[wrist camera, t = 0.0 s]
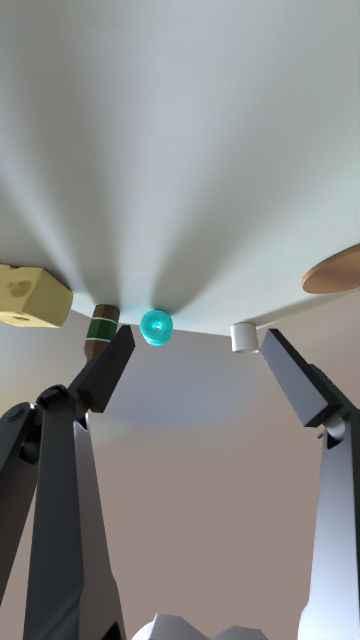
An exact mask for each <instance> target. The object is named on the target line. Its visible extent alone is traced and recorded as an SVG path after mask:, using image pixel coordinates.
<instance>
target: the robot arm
mask: <svg viewBox="0 0 360 640" xmlns="http://www.w3.org/2000/svg"><path fill="white" fill-rule="evenodd" d="M134 348H135V343H134V339H133V335H132V331H131V327H130V325H122V326H121V328H120V329H119V331H118V332H117V333H116V335H115V336H114V337H113V339H112V340H111V342H110V343H109V344H108V346H107V347H106V348H105V350H104V351H103V353H102V354H101V355H100V356H95V357H93V358H92V359H91V360H89V361H88V363H87V364H86V365H85V367H84V368H83V369H82V370H81V372H80V373H79V374H78V376H77V377H76V378H75V379H74V380H73V382H72V383H71V384H70V386H69V387H68V388H67V389H66V388H65V386H63V385H54V386H51V387H50V388H48V389H46V390H45V391H44V392H42V393H41V394H40V395H39V397H38V398H37V400H36V403H37V404H38V405H34V406H33V405H32V404H31V403H29V402H23V403H20V404H18V405H15V406H14V407H12V408H11V409H9V410H8V411H7V412H6V413H5V414H4V415H3V416H2V417H1V418H0V606H1V602H2V599H3V595H4V593H5V589H6V585H7V582H8V579H9V576H10V572H11V569H12V566H13V562H14V559H15V556H16V552H17V549H18V546H19V542H20V539H21V536H22V532H23V529H24V525H25V522H26V518H27V515H28V512H29V509H30V505H31V502H32V499H33V495H34V492H35V488H36V485H37V491H36V502H35V513H34V524H33V536H32V547H31V557H30V567H29V578H28V590H27V601H26V611H25V622H24V633H23V640H126V634H125V628H124V622H123V616H122V610H121V604H120V598H119V593H118V588H117V585H116V581H115V579H114V577H113V575H112V572H111V567H110V562H109V555H108V548H107V542H106V535H105V529H104V522H103V515H102V508H101V502H100V495H99V488H98V482H97V475H96V469H95V462H94V456H93V449H92V442H91V436H90V429H89V422H88V416H87V414H86V413H87V411H88V409H89V408H90V410H91V411H92V412H97V413H103V412H104V410H105V408H106V406H107V404H108V402H109V399H110V397H111V395H112V393H113V391H114V389H115V387H116V385H117V383H118V381H119V379H120V377H121V375H122V373H123V371H124V368H125V366H126V364H127V362H128V360H129V358H130V356H131V354H132V352H133V350H134ZM260 351H261V353H262V355H263V357H264V358H265V360H266V361H267V363H268V365H269V367H270V368H271V370H272V372H273V374H274V376H275V377H276V379H277V381H278V383H279V384H280V386H281V388H282V390H283V391H284V393H285V395H286V397H287V398H288V400H289V402H290V404H291V405H292V407H293V409H294V410H295V412H296V414H297V416H298V417H299V419H300V421H301V423H302V424H303V426H304V427H318V426H319V425H321V424H322V423H323V425H324V426H325V428H326V429H325V430H324V431H323V432H321V433H320V434H319V435H318V437H317V438H319V439H320V438H321V437H323V447H322V459H321V470H320V481H319V493H318V505H317V517H316V528H315V539H314V552H313V563H312V575H311V586H310V596H309V601H308V604H307V605H306V607H305V608H304V610H303V611H302V615H301V618H300V624H299V631H298V640H360V410H359V409H357V408H356V407H355V406H354V405H353V404H352V403H351V402H350V401H349V400H348V398H347V397H346V396H345V395H344V394H343V393H342V392H341V391H340V390H339V389H338V388H337V387H336V386H335V385H334V384H333V383H332V381H331V380H330V379H328V378H327V376H326V375H325V374H324V373H323V372H322V371H321V370H320V369H319V368H317V367H316V366H315V365H313V364H308V363H307V362H306V361H305V360H304V359H303V358H302V356H301V355H300V354H299V353H298V352H297V351H296V350H295V348H294V347H293V346H292V345H291V344H290V343H289V342H288V340H287V339H286V338H285V337H284V336H283V335H282V334H281V332H279V330H278V329H268V331H267V334H266V336H265V338H264V341H263V343H262V346H261V348H260ZM132 640H268V639H267V638H266V636H265V635H264V634H263V633H262V631H261V630H258V629H251V628H246V627H240V626H232V627H230V628H228V629H226V630H224V631H222V632H220V633H218V634H216V635H214V636H212V637H206V636H204V635H203V634H202V633H201V632H199V631H198V630H197V629H196V628H194V627H193V626H192V625H191V624H189V623H188V622H187V621H186V620H184V619H183V618H182V617H179V616H173V615H167V614H161V613H156V616H155V619H154V621H153V622H151V623H149V624H147V625H146V626H144V627H143V628H142V629H141V630H140V631H139V632H138V633H137V634H136V635H135V636H134V637H133V639H132Z"/></svg>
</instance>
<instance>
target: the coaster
mask: <svg viewBox="0 0 360 640" xmlns="http://www.w3.org/2000/svg"><path fill="white" fill-rule="evenodd" d="M301 285H302V288H303V290H304V291H306V292H308V293H312V294H327V293H335V292H340V291H345V290H349V289H353V288H356V287H359V286H360V245H358V246H355V247H352V248H350V249H347V250H345V251H342V252H340V253H338V254H336V255H334V256H332V257H330V258H328V259H326V260H324V261H323V262H321V263H319V264H318V265H316V266H315V267H313V268H312V269H311V270H310V271H309V272H308V273H306V275H305V276H304V277H303V279H302V281H301Z"/></svg>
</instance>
